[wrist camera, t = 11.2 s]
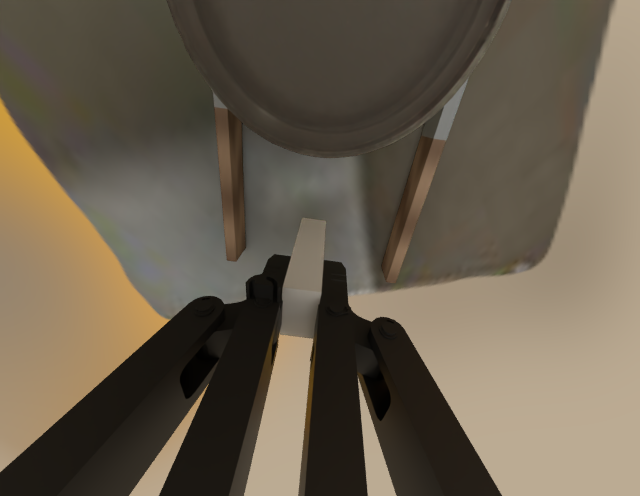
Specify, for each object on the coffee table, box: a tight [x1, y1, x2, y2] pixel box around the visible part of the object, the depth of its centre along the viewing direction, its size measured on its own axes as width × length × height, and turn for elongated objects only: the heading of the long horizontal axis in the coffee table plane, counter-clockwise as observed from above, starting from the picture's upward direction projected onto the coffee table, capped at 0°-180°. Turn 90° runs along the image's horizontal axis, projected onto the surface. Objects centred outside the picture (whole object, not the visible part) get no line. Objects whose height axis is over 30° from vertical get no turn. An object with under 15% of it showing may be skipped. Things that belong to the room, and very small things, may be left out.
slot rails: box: [214, 107, 446, 283], centre depth 23 cm, size 14×18×3 cm
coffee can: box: [167, 0, 512, 158], centre depth 13 cm, size 10×10×14 cm
